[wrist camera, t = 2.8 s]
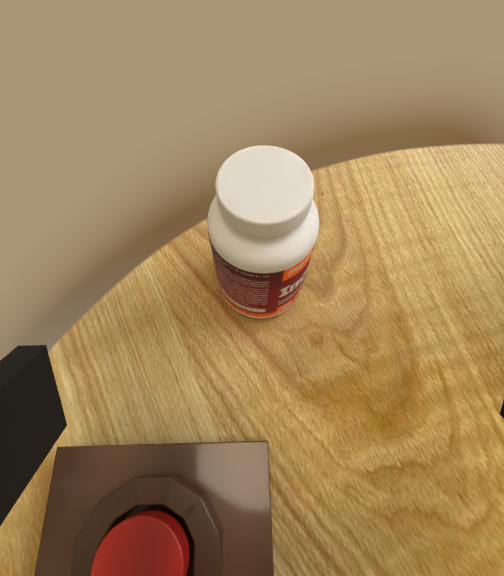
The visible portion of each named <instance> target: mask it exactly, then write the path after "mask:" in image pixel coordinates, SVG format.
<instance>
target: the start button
mask: <svg viewBox="0 0 504 576" xmlns="http://www.w3.org/2000/svg"><path fill="white" fill-rule="evenodd" d="M189 561H190V550H189V543H188V539H187V536H186V534H185V531H184V530H183V528H182V526H181V525H180V523H179V522H178V521H177V520H176V519H175V518H174V517H172V516H171V515H169V514H168V513H165V512H163V511H159V510H145V511H141V512H139V513H136V514H134V515H133V516H131V517H129V518H127V519H126V520H124V521H122V522H121V523H119V524H118V525H116V526H115V527H114V528H113V529H112V530H111V531H110V532H109V533H108V534H107V535H106V536H105V538H104V539H103V541H102V542H101V544H100V546H99V547H98V549H97V552H96V554H95V557H94V560H93V564H92V569H91V576H187V572H188V568H189Z"/></svg>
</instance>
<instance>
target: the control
mask: <svg viewBox="0 0 504 576" xmlns="http://www.w3.org/2000/svg"><path fill="white" fill-rule="evenodd" d="M145 510H159V511H163V512H165V513H168V514H169V515H171V516H172V517H174V518H175V519H176V520H177V521H178V522H179V523H180V525H181V526H182V528H183V530H184V531H185V534H186V536H187V539H188V543H189V550H190V561H189V568H188V572H187V576H274V569H273V545H272V521H271V497H270V473H269V449H268V441H243V442H209V443H175V444H141V445H108V446H74V447H57V451H56V457H55V463H54V468H53V474H52V479H51V485H50V491H49V496H48V502H47V507H46V513H45V519H44V524H43V530H42V535H41V541H40V547H39V552H38V558H37V563H36V569H35V575H34V576H91V569H92V564H93V560H94V557H95V554H96V552H97V549H98V547H99V546H100V544H101V542H102V541H103V539H104V538H105V536H106V535H107V534H108V533H109V532H110V531H111V530H112V529H113V528H114V527H115V526H116V525H118V524H119V523H121V522H122V521H124V520H126V519H127V518H129V517H131V516H133V515H134V514H136V513H139V512H141V511H145Z"/></svg>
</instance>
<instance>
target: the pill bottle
mask: <svg viewBox="0 0 504 576" xmlns="http://www.w3.org/2000/svg"><path fill="white" fill-rule="evenodd" d="M313 193H314V180H313V176H312V173H311V171H310V169H309V167H308V166H307V164H306V163H305V162H304V161H303V160H302V159H301V158H300V157H298V156H297V155H296V154H294V153H292V152H290V151H288V150H286V149H283V148H280V147H275V146H264V145H263V146H254V147H249V148H246V149H242V150H240V151H238V152H236V153H235V154H233V155H231V156H230V157H229V158H228V159H227V160H226V161H225V162H224V163H223V164H222V166H221V167H220V169H219V171H218V174H217V177H216V196H215V198H214V199H213V201H212V203H211V205H210V208H209V213H208V221H207V223H208V234H209V239H210V243H211V248H212V253H213V258H214V263H215V269H216V274H217V278H218V284H219V287H220V291H221V293H222V296H223V298H224V299H225V301H226V302H227V303H228V304H229V306H230V307H232V308H233V309H234V310H235V311H237V312H238V313H240V314H242V315H245V316H247V317H251V318H270V317H274V316H277V315H279V314H281V313H283V312H284V311H286V310H287V309H289V308H290V307H291V306H292V305H293V303H294V302H295V301H296V299H297V297H298V295H299V293H300V291H301V288H302V285H303V281H304V278H305V275H306V271H307V268H308V265H309V262H310V259H311V255H312V252H313V250H314V247H315V243H316V240H317V235H318V231H319V216H318V211H317V208H316V205H315V203H314V201H313V199H312V198H313Z"/></svg>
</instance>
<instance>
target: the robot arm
mask: <svg viewBox="0 0 504 576" xmlns="http://www.w3.org/2000/svg"><path fill="white" fill-rule="evenodd" d="M500 415H501V416H502V417H503V418H504V401H503V405H502V408H501V412H500ZM66 426H67V423H66V419H65V416H64V412H63V408H62V404H61V400H60V397H59V393H58V389H57V385H56V381H55V378H54V374H53V370H52V366H51V362H50V359H49V355H48V351H47V347H46V345H38V346H37V345H34V346H17V347H16V348H15V349H14V350H13V351H11V352H10V353H9V354H8V355H7V356H6V357H4V358H3V359H2V360H1V361H0V525H1V524H2V522H3V521H4V519H5V518H6V516H7V515H8V513H9V512H10V510H11V509H12V507H13V506H14V504H15V503H16V501H17V500H18V498H19V497H20V495H21V494H22V492H23V491H24V489H25V488H26V486H27V485H28V483H29V482H30V480H31V479H32V477H33V476H34V474H35V473H36V471H37V470H38V468H39V467H40V465H41V463H42V462H43V460H44V459H45V457H46V456H47V454H48V453H49V451H50V450H51V448H52V447H53V445H54V444H55V442H56V441H57V439H58V438H59V436H60V435H61V433H62V432H63V430H64V429H65V427H66Z"/></svg>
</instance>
